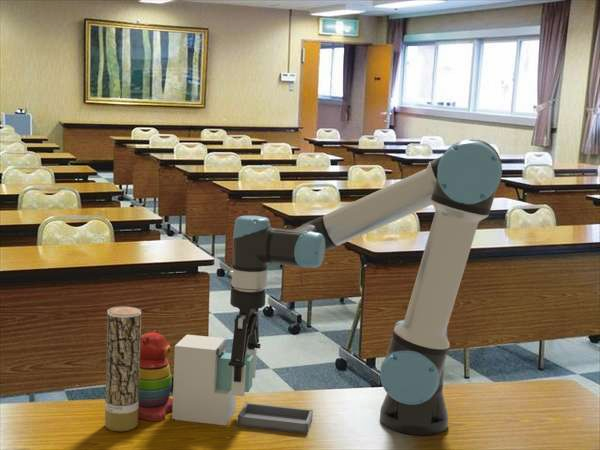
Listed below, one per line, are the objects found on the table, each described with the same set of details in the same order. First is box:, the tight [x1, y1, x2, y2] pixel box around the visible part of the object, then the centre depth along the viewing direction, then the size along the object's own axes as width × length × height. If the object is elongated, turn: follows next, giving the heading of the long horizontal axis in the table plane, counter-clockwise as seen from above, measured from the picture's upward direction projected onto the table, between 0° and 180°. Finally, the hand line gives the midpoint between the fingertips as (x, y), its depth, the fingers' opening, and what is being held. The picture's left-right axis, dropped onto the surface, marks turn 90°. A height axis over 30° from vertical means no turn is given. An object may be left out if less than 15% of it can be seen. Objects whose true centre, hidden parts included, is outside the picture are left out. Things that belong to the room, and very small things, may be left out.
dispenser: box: [171, 334, 237, 426], centre depth 170 cm, size 12×9×16 cm
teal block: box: [216, 352, 254, 393], centre depth 169 cm, size 10×4×7 cm, turn 82°
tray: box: [237, 402, 314, 435], centre depth 169 cm, size 15×8×2 cm, turn 82°
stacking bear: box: [138, 329, 173, 422], centre depth 171 cm, size 11×10×18 cm
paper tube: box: [104, 306, 142, 432], centre depth 161 cm, size 7×7×25 cm
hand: (243, 385), depth 169 cm, fingers open, 11 cm apart
